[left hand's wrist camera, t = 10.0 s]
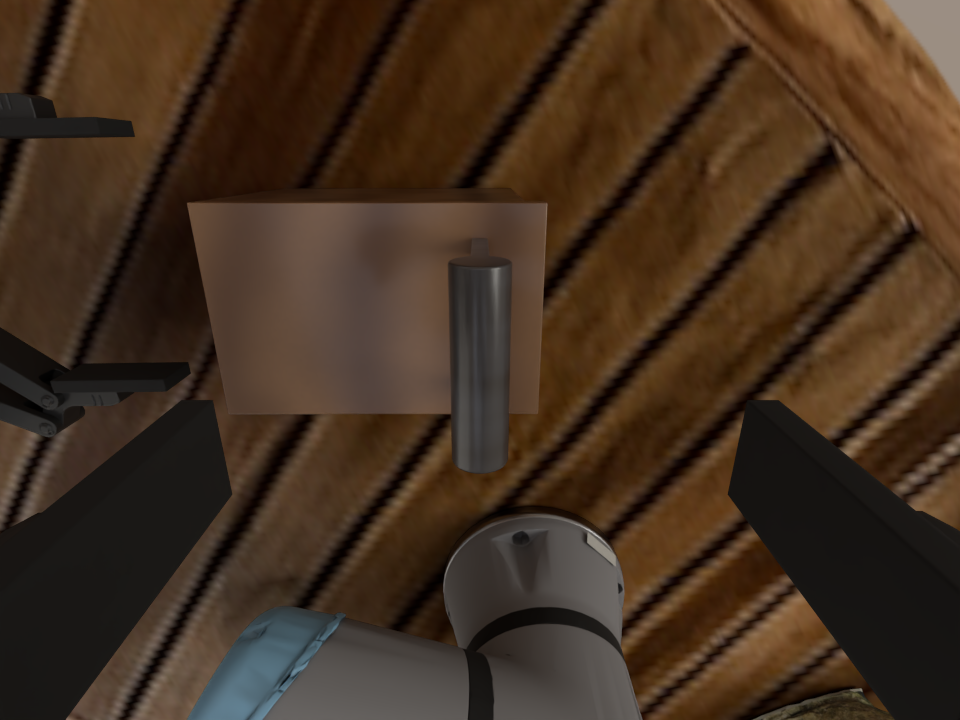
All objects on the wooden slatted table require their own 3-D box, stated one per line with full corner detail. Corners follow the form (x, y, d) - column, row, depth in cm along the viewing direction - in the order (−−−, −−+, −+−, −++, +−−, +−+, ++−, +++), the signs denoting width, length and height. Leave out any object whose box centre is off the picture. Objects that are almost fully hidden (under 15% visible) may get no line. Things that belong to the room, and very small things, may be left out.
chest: (511, 188, 34) (525, 200, 23) (508, 337, 37) (519, 404, 27) (284, 188, 34) (200, 200, 23) (304, 337, 37) (238, 404, 27)
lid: (544, 200, 23) (578, 221, 15) (535, 404, 27) (559, 505, 19) (199, 200, 23) (55, 221, 15) (238, 404, 27) (137, 506, 19)
